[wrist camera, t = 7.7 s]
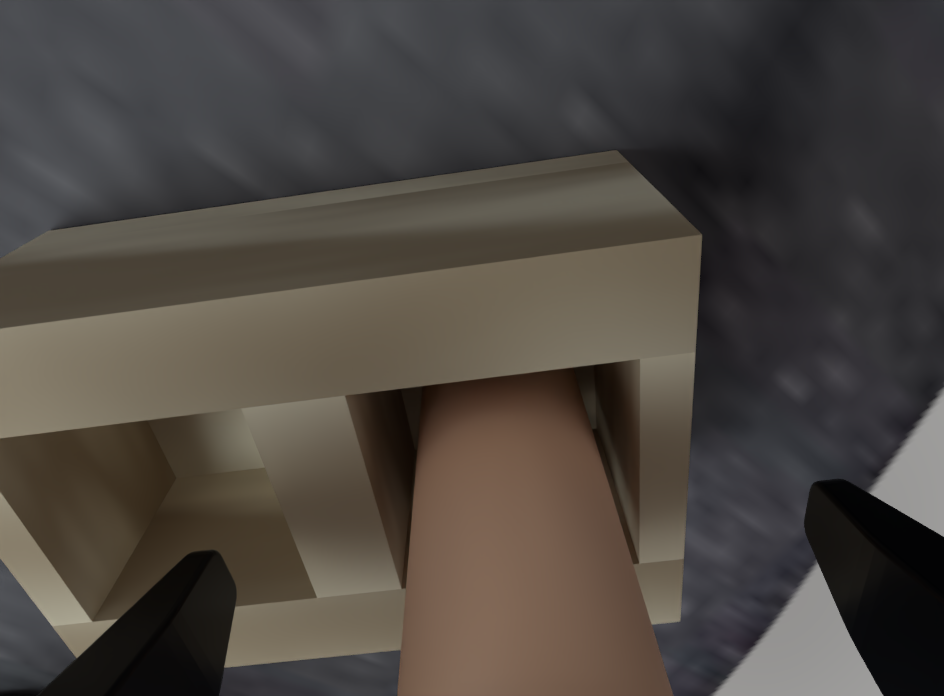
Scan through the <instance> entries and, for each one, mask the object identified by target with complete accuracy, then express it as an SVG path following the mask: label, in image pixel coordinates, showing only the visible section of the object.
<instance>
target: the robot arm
mask: <svg viewBox="0 0 944 696" xmlns="http://www.w3.org/2000/svg"><path fill="white" fill-rule="evenodd" d="M804 528H805V533H806V536H807V539H808V541H809V543H810V546H811V548H812V550H813V552H814V555H815V557H816V559H817V562H818V564H819V566H820V569H821V571H822V573H823V576H824V578H825V580H826V582H827V585H828V587H829V589H830V592H831V594H832V596H833V599H834V601H835V603H836V606H837V608H838V610H839V612H840V615H841V617H842V619H843V622H844V623H845V626H846V628H847V630H848V632H849V634H850V636H851V638H852V640H853V642H854V644H855V646H856V648H857V650H858V652H859V653H860V655H861V657H862V659H863V660H864V662H865V664H866V666H867V668H868V669H869V671H870V673H871V675H872V676H873V678H874V680H875V682H876V684H877V685H878V687H879V689H880V691H881V692H882V694H883V695H884V696H944V537H943V536H941V535H940V534H938V533H936V532H934V531H933V530H931V529H929V528H928V527H926V526H924V525H922V524H921V523H919V522H917V521H916V520H914V519H912V518H910V517H909V516H907V515H905V514H904V513H902V512H900V511H898V510H897V509H895V508H893V507H892V506H890V505H888V504H886V503H885V502H883V501H881V500H879V499H878V498H876V497H874V496H873V495H871V494H869V493H868V492H866V491H864V490H862V489H861V488H859V487H857V486H856V485H854V484H852V483H850V482H849V481H846V480H844V479H832V480H823V481H817V482H814V483H813V484H812V486H811V488H810V492H809V498H808V503H807V508H806V513H805V519H804ZM236 599H237V588H236V584H235V581H234V579H233V577H232V575H231V573H230V571H229V569H228V567H227V565H226V563H225V561H224V559H223V557H222V555H221V554H220V552H218V551H217V550H214V549H211V550H202V551H194V552H191V553H189V554H187V555H186V556H185V557H184V558H182V559H181V560H180V561H179V562H178V563H177V564H176V565H175V566H174V567H173V568H172V569H171V570H170V571H169V572H168V573H167V574H166V575H164V576H163V577H162V578H161V579H160V580H159V581H158V582H157V583H156V584H155V585H154V586H153V587H152V588H151V589H150V590H149V591H147V592H146V593H145V594H144V595H143V596H142V597H141V598H140V599H139V600H138V601H137V602H136V603H135V604H134V605H133V606H132V607H131V608H129V609H128V610H127V611H126V612H125V613H124V614H123V615H122V616H121V617H120V618H119V619H118V620H117V621H116V622H115V623H114V624H112V625H111V626H110V627H109V628H108V629H107V630H106V631H105V632H104V633H103V634H102V635H101V636H100V637H99V638H98V639H97V640H96V641H94V642H93V643H92V644H91V645H90V646H89V647H88V648H87V649H86V650H85V651H84V652H83V653H82V654H81V655H80V656H79V657H77V658H76V659H75V660H74V661H73V662H72V663H71V664H70V665H69V666H68V667H67V668H66V669H65V670H64V671H63V672H62V673H61V674H59V675H58V676H57V677H56V678H55V679H54V680H53V681H52V682H51V683H50V684H49V685H48V686H47V687H46V688H45V689H44V690H42V691H41V692H40V693H39V694H38V695H37V696H219V692H220V688H221V683H222V678H223V672H224V666H225V661H226V655H227V650H228V644H229V639H230V633H231V628H232V622H233V616H234V611H235V605H236Z"/></svg>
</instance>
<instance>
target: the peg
mask: <svg viewBox="0 0 944 696" xmlns="http://www.w3.org/2000/svg"><path fill="white" fill-rule="evenodd" d="M397 696H673V693H672V690H671V686H670V683H669V680H668V677H667V673H666V670H665V667H664V663H663V660H662V657H661V654H660V650H659V647H658V644H657V640H656V637H655V634H654V631H653V627H652V624H651V621H650V618H649V614H648V611H647V608H646V604H645V601H644V598H643V595H642V591H641V588H640V585H639V582H638V578H637V575H636V572H635V568H634V565H633V562H632V559H631V555H630V552H629V549H628V546H627V542H626V539H625V536H624V532H623V529H622V526H621V523H620V519H619V516H618V513H617V510H616V506H615V503H614V500H613V496H612V493H611V490H610V487H609V483H608V480H607V477H606V474H605V470H604V467H603V464H602V460H601V457H600V454H599V451H598V447H597V444H596V441H595V438H594V434H593V431H592V428H591V424H590V421H589V418H588V415H587V411H586V408H585V405H584V402H583V398H582V395H581V392H580V388H579V385H578V382H577V379H576V375H575V372H574V369H573V367H572V368H564V369H556V370H548V371H540V372H532V373H524V374H516V375H507V376H499V377H491V378H483V379H475V380H467V381H459V382H451V383H443V384H435V385H427V386H423V387H422V399H421V411H420V423H419V436H418V448H417V460H416V472H415V485H414V497H413V509H412V521H411V533H410V546H409V558H408V570H407V582H406V595H405V607H404V619H403V631H402V644H401V656H400V668H399V680H398V693H397Z"/></svg>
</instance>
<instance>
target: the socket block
mask: <svg viewBox="0 0 944 696" xmlns="http://www.w3.org/2000/svg"><path fill="white" fill-rule="evenodd" d="M701 246H702V234H701V233H700V232H699V231H698V230H697V229H696V228H695V227H694V226H693V225H692V224H691V223H690V222H689V221H688V220H687V219H686V218H685V217H684V216H683V215H682V214H681V213H680V212H679V211H678V210H677V209H676V208H675V207H674V206H673V205H672V204H671V203H670V202H669V201H668V200H667V199H666V198H665V197H664V196H663V195H662V194H661V193H660V192H659V191H658V190H657V189H656V188H655V187H654V186H653V185H652V184H650V183H649V182H648V181H647V180H646V179H645V178H644V177H643V176H642V175H641V174H640V173H639V172H638V171H637V170H636V169H635V168H634V167H633V166H632V165H631V164H630V163H629V162H628V161H627V160H626V159H625V158H624V157H623V156H622V155H621V154H620V153H619V152H618V151H617V150H613V151H606V152H599V153H592V154H585V155H578V156H571V157H564V158H557V159H550V160H543V161H536V162H529V163H522V164H515V165H508V166H501V167H494V168H487V169H480V170H473V171H466V172H458V173H451V174H444V175H437V176H430V177H423V178H416V179H409V180H402V181H395V182H388V183H381V184H374V185H367V186H360V187H353V188H346V189H339V190H332V191H325V192H318V193H311V194H304V195H297V196H290V197H283V198H276V199H269V200H262V201H255V202H248V203H241V204H233V205H226V206H219V207H212V208H205V209H198V210H191V211H184V212H177V213H170V214H163V215H156V216H149V217H142V218H135V219H128V220H121V221H114V222H107V223H100V224H93V225H86V226H79V227H72V228H65V229H58V230H51V231H47V232H45V233H44V234H42V235H40V236H39V237H37V238H35V239H33V240H32V241H30V242H28V243H26V244H25V245H23V246H21V247H19V248H18V249H16V250H14V251H12V252H11V253H9V254H7V255H5V256H4V257H2V258H0V558H1V560H2V561H3V562H4V564H5V565H6V566H7V568H8V569H9V570H10V572H11V573H12V574H13V576H14V577H15V578H16V579H17V581H18V582H19V583H20V585H21V586H22V587H23V589H24V590H25V591H26V593H27V594H28V595H29V596H30V598H31V599H32V600H33V602H34V603H35V604H36V606H37V607H38V608H39V610H40V611H41V612H42V613H43V615H44V616H45V617H46V619H47V620H48V621H49V623H50V624H51V625H52V627H53V628H54V629H55V630H56V632H57V633H58V634H59V636H60V637H61V638H62V640H63V641H64V642H65V644H66V645H67V646H68V648H69V649H70V650H71V651H72V653H73V654H74V655H75V657H76V658H77V657H79V656H80V655H81V654H82V653H83V652H84V651H85V650H86V649H87V648H88V647H89V646H90V645H91V644H92V643H93V642H94V641H96V640H97V639H98V638H99V637H100V636H101V635H102V634H103V633H104V632H105V631H106V630H107V629H108V628H109V627H110V626H111V625H112V624H114V623H115V622H116V621H117V620H118V619H119V618H120V617H121V616H122V615H123V614H124V613H125V612H126V611H127V610H128V609H129V608H131V607H132V606H133V605H134V604H135V603H136V602H137V601H138V600H139V599H140V598H141V597H142V596H143V595H144V594H145V593H146V592H147V591H149V590H150V589H151V588H152V587H153V586H154V585H155V584H156V583H157V582H158V581H159V580H160V579H161V578H162V577H163V576H164V575H166V574H167V573H168V572H169V571H170V570H171V569H172V568H173V567H174V566H175V565H176V564H177V563H178V562H179V561H180V560H181V559H182V558H184V557H185V556H186V555H187V554H189V553H191V552H194V551H202V550H211V549H214V550H217V551H218V552H220V554H221V555H222V557H223V559H224V561H225V563H226V565H227V567H228V569H229V571H230V573H231V575H232V577H233V579H234V581H235V584H236V588H237V599H236V605H235V611H234V616H233V622H232V628H231V633H230V639H229V644H228V650H227V655H226V661H225V666H224V668H226V667H236V666H246V665H256V664H266V663H276V662H286V661H296V660H306V659H315V658H325V657H335V656H345V655H355V654H365V653H375V652H385V651H395V650H401V644H402V631H403V619H404V607H405V595H406V582H407V570H408V558H409V546H410V533H411V521H412V509H413V497H414V485H415V472H416V460H417V448H418V436H419V423H420V411H421V399H422V387H423V386H427V385H435V384H443V383H451V382H459V381H467V380H475V379H483V378H491V377H499V376H507V375H516V374H524V373H532V372H540V371H548V370H556V369H564V368H572V367H573V369H574V372H575V375H576V379H577V382H578V385H579V388H580V392H581V395H582V398H583V402H584V405H585V408H586V411H587V415H588V418H589V421H590V424H591V428H592V431H593V434H594V438H595V441H596V444H597V447H598V451H599V454H600V457H601V460H602V464H603V467H604V470H605V474H606V477H607V480H608V483H609V487H610V490H611V493H612V496H613V500H614V503H615V506H616V510H617V513H618V516H619V519H620V523H621V526H622V529H623V532H624V536H625V539H626V542H627V546H628V549H629V552H630V555H631V559H632V562H633V565H634V568H635V572H636V575H637V578H638V582H639V585H640V588H641V591H642V595H643V598H644V601H645V604H646V608H647V611H648V614H649V618H650V621H651V624H661V623H671V622H680V616H681V599H682V581H683V564H684V546H685V528H686V511H687V493H688V475H689V458H690V440H691V423H692V405H693V387H694V370H695V352H696V334H697V317H698V299H699V282H700V264H701Z"/></svg>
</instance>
